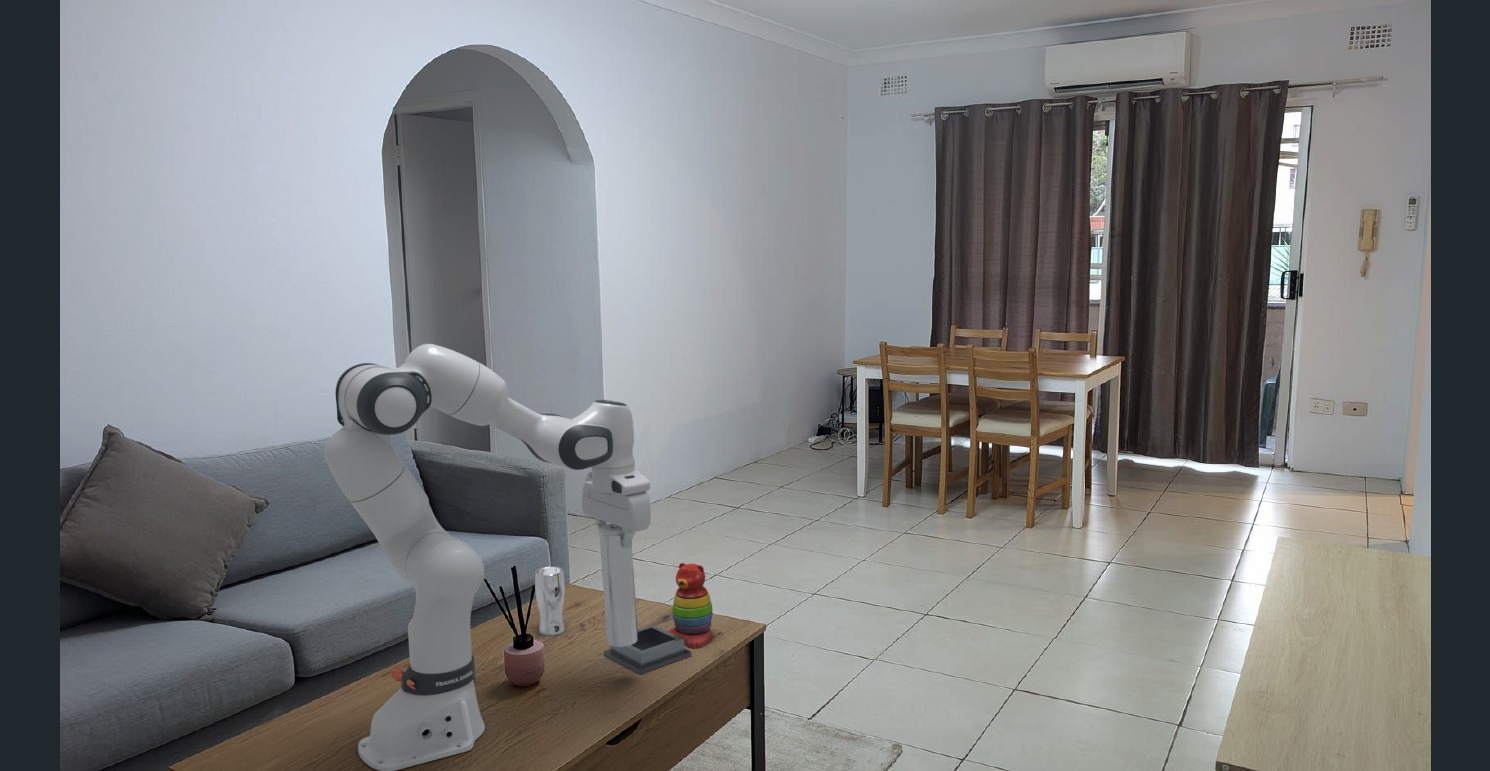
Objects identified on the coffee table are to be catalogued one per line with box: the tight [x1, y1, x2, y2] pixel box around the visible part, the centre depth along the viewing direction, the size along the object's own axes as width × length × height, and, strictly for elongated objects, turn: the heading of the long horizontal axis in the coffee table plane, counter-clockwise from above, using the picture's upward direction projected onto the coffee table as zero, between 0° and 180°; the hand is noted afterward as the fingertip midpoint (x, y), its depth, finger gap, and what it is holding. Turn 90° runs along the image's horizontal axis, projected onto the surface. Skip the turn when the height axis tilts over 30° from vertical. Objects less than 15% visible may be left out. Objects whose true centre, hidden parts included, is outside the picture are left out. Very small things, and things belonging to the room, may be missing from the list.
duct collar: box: [603, 624, 692, 675], centre depth 217 cm, size 14×14×4 cm
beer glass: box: [534, 566, 566, 637], centre depth 232 cm, size 7×7×15 cm
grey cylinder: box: [599, 523, 638, 647], centre depth 202 cm, size 6×6×25 cm
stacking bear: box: [668, 562, 713, 649], centre depth 226 cm, size 11×10×18 cm
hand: (615, 543), depth 201 cm, fingers closed on grey cylinder, 6 cm apart
